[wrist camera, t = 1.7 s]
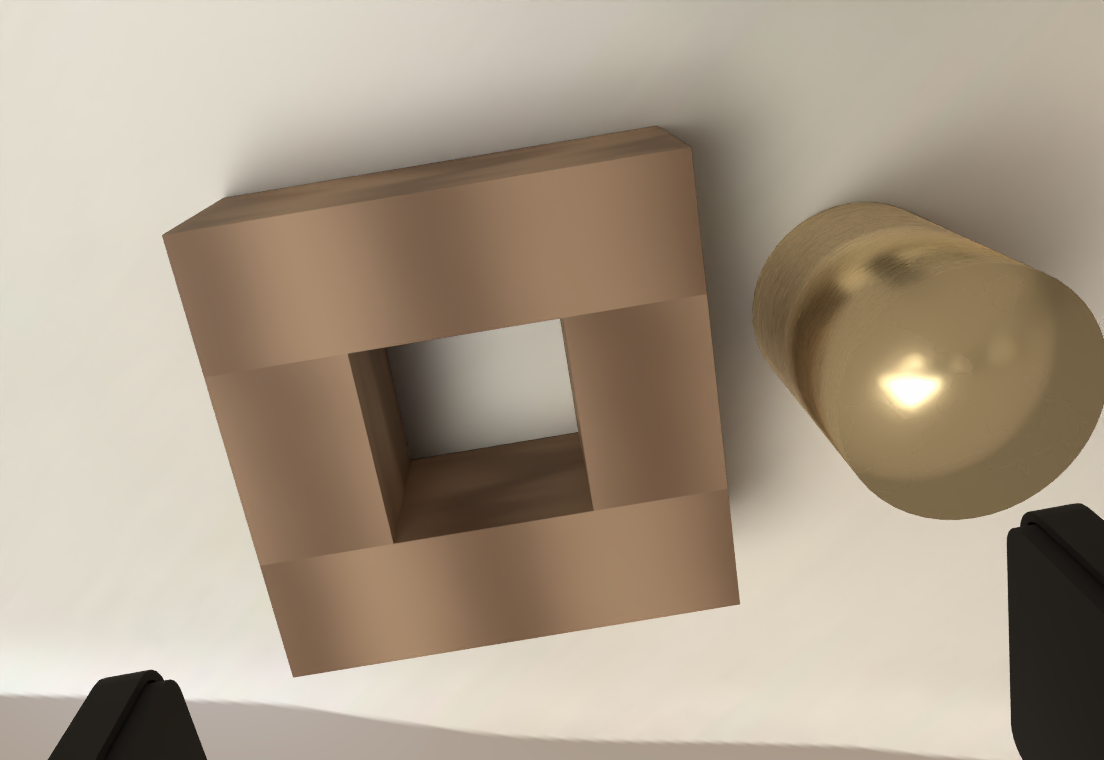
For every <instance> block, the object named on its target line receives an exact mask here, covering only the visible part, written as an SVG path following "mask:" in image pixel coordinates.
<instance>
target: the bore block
mask: <svg viewBox="0 0 1104 760" xmlns="http://www.w3.org/2000/svg"><path fill="white" fill-rule="evenodd" d="M162 237H163V240H164V244H165V247H166V250H167V254H168V257H169V260H170V264H171V267H172V271H173V274H174V277H175V281H176V284H177V287H178V291H179V294H180V297H181V301H182V304H183V308H184V311H185V314H186V318H187V321H188V324H189V328H190V331H191V335H192V338H193V341H194V345H195V348H196V351H197V355H198V358H199V362H200V365H201V368H202V372H203V375H204V378H205V382H206V385H207V388H208V392H209V395H210V399H211V402H212V405H213V409H214V412H215V415H216V419H217V422H218V426H219V429H220V432H221V436H222V439H223V442H224V446H225V449H226V453H227V456H228V459H229V463H230V466H231V469H232V473H233V476H234V479H235V483H236V486H237V490H238V493H239V496H240V500H241V503H242V506H243V510H244V513H245V517H246V520H247V523H248V527H249V530H250V533H251V537H252V540H253V544H254V547H255V550H256V554H257V557H258V560H259V564H260V567H261V570H262V574H263V577H264V581H265V584H266V587H267V591H268V594H269V597H270V601H271V604H272V608H273V611H274V614H275V618H276V621H277V624H278V628H279V631H280V634H281V638H282V641H283V645H284V648H285V651H286V655H287V658H288V661H289V665H290V668H291V672H292V675H293V677H299V676H305V675H311V674H318V673H324V672H330V671H336V670H342V669H348V668H354V667H360V666H366V665H372V664H379V663H385V662H391V661H397V660H403V659H409V658H415V657H421V656H427V655H433V654H440V653H446V652H452V651H458V650H464V649H470V648H476V647H482V646H488V645H494V644H501V643H507V642H513V641H519V640H525V639H531V638H537V637H543V636H549V635H555V634H562V633H568V632H574V631H580V630H586V629H592V628H598V627H604V626H610V625H616V624H623V623H629V622H635V621H641V620H647V619H653V618H659V617H665V616H671V615H677V614H684V613H690V612H696V611H702V610H708V609H714V608H720V607H726V606H732V605H738V604H740V600H739V590H738V581H737V572H736V562H735V553H734V544H733V534H732V525H731V516H730V506H729V497H728V487H727V478H726V469H725V459H724V450H723V441H722V431H721V422H720V413H719V403H718V394H717V384H716V375H715V366H714V356H713V347H712V338H711V328H710V319H709V310H708V300H707V291H706V281H705V272H704V263H703V253H702V244H701V235H700V225H699V216H698V207H697V197H696V188H695V179H694V169H693V160H692V150H691V147H690V146H689V145H687V144H685V143H684V142H682V141H681V140H679V139H677V138H676V137H674V136H672V135H671V134H669V133H667V132H666V131H664V130H663V129H661V128H659V127H658V126H653V127H647V128H641V129H635V130H629V131H623V132H617V133H611V134H605V135H599V136H593V137H587V138H581V139H575V140H569V141H563V142H557V143H551V144H545V145H539V146H533V147H527V148H521V149H515V150H509V151H503V152H497V153H491V154H485V155H479V156H473V157H467V158H461V159H455V160H449V161H443V162H437V163H431V164H425V165H419V166H413V167H407V168H401V169H395V170H389V171H383V172H377V173H371V174H365V175H359V176H353V177H347V178H341V179H335V180H329V181H323V182H317V183H311V184H305V185H299V186H293V187H287V188H281V189H275V190H269V191H263V192H257V193H251V194H245V195H240V196H234V197H228V198H223V199H221V200H219V201H218V202H216V203H214V204H213V205H211V206H209V207H208V208H206V209H204V210H203V211H201V212H200V213H198V214H196V215H195V216H193V217H191V218H190V219H188V220H186V221H185V222H183V223H181V224H180V225H178V226H176V227H175V228H173V229H171V230H170V231H168V232H167V233H165V234H163V235H162ZM559 318H560V321H561V327H562V333H563V339H564V345H565V352H566V358H567V364H568V370H569V376H570V383H571V389H572V395H573V401H574V408H575V414H576V420H577V426H578V432H579V433H573V434H567V435H561V436H555V437H549V438H543V439H537V440H530V441H524V442H518V443H512V444H506V445H500V446H494V447H488V448H482V449H476V450H470V451H464V452H458V453H452V454H446V455H440V456H434V457H428V458H421V459H415V460H411V459H410V454H409V450H408V446H407V441H406V437H405V432H404V428H403V424H402V419H401V415H400V410H399V406H398V402H397V397H396V393H395V388H394V384H393V380H392V375H391V371H390V366H389V362H388V358H387V353H386V349H385V347H391V346H397V345H403V344H409V343H415V342H421V341H427V340H433V339H439V338H445V337H451V336H457V335H463V334H469V333H475V332H481V331H487V330H493V329H499V328H505V327H511V326H517V325H523V324H529V323H535V322H541V321H547V320H553V319H559Z"/></svg>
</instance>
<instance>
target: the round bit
mask: <svg viewBox="0 0 1104 760" xmlns="http://www.w3.org/2000/svg"><path fill="white" fill-rule="evenodd" d="M753 325H754V331H755V336H756V339H757V342H758V345H759V348H760V350H761V352H762V354H763V356H764V358H765V359H766V361H767V362H768V364H769V365H770V367H771V368H772V369H773V370H774V372H775V373H776V374H777V375H778V377H779V378H780V379H781V381H782V382H783V383H784V384H785V386H786V387H787V388H788V389H789V391H790V392H791V393H792V394H793V396H794V397H795V398H796V399H797V401H798V402H799V403H800V404H801V406H802V407H803V408H804V409H805V411H806V412H807V413H808V414H809V416H810V417H811V418H812V419H813V421H814V422H815V423H816V424H817V426H818V427H819V428H820V429H821V431H822V432H823V433H824V435H825V436H826V437H827V438H828V440H829V441H830V442H831V443H832V445H833V446H834V447H835V448H836V450H837V451H838V452H839V453H840V455H841V456H842V457H843V458H844V460H845V461H846V462H847V463H848V465H849V466H850V467H851V468H852V470H853V471H854V472H855V473H856V475H857V476H858V477H859V478H860V480H861V481H862V482H863V483H864V484H865V485H866V486H867V487H868V488H869V489H870V490H871V491H872V492H873V493H874V494H876V495H877V496H878V497H879V498H881V499H882V500H884V501H885V502H887V503H889V504H890V505H892V506H894V507H896V508H898V509H900V510H903V511H905V512H907V513H910V514H914V515H918V516H921V517H926V518H933V519H940V520H960V519H969V518H976V517H981V516H985V515H990V514H993V513H996V512H999V511H1002V510H1005V509H1008V508H1010V507H1012V506H1014V505H1016V504H1019V503H1021V502H1023V501H1025V500H1026V499H1028V498H1030V497H1031V496H1033V495H1035V494H1036V493H1038V492H1040V491H1041V490H1042V489H1043V488H1045V487H1046V486H1047V485H1049V484H1050V483H1051V482H1053V481H1054V480H1055V479H1056V478H1057V477H1058V476H1059V475H1060V474H1061V473H1062V472H1064V471H1065V470H1066V469H1067V468H1068V466H1069V465H1070V464H1071V463H1072V462H1073V461H1074V459H1075V458H1076V457H1077V456H1078V455H1079V453H1080V452H1081V450H1082V449H1083V447H1084V446H1085V444H1086V443H1087V441H1088V440H1089V438H1090V436H1091V434H1092V432H1093V430H1094V428H1095V426H1096V424H1097V422H1098V419H1099V417H1100V414H1101V411H1102V409H1103V405H1104V338H1103V335H1102V332H1101V330H1100V327H1099V325H1098V323H1097V321H1096V319H1095V317H1094V315H1093V314H1092V312H1091V311H1090V310H1089V308H1088V307H1087V306H1086V304H1085V303H1084V302H1083V300H1082V299H1081V298H1080V297H1079V296H1078V295H1077V294H1076V293H1074V292H1073V291H1072V290H1071V289H1070V288H1069V287H1067V286H1066V285H1064V284H1063V283H1061V282H1060V281H1059V280H1057V279H1055V278H1053V277H1051V276H1049V275H1047V274H1045V273H1043V272H1041V271H1038V270H1036V269H1034V268H1032V267H1030V266H1027V265H1025V264H1023V263H1021V262H1018V261H1016V260H1014V259H1012V258H1010V257H1007V256H1005V255H1003V254H1001V253H999V252H996V251H994V250H992V249H990V248H987V247H985V246H983V245H981V244H979V243H976V242H974V241H972V240H970V239H967V238H965V237H963V236H961V235H959V234H956V233H954V232H952V231H950V230H947V229H945V228H943V227H941V226H939V225H936V224H934V223H932V222H930V221H928V220H925V219H923V218H921V217H919V216H916V215H914V214H912V213H910V212H908V211H905V210H903V209H901V208H898V207H894V206H891V205H887V204H881V203H874V202H859V203H849V204H844V205H840V206H836V207H833V208H830V209H827V210H825V211H822V212H820V213H818V214H816V215H814V216H812V217H810V218H808V219H807V220H805V221H804V222H803V223H801V224H800V225H798V226H797V227H796V228H794V229H793V230H792V231H791V232H790V233H789V234H788V235H786V237H785V238H784V239H783V240H782V241H781V242H780V243H779V244H778V245H777V247H776V248H775V249H774V251H773V252H772V254H771V255H770V257H769V258H768V260H767V262H766V264H765V266H764V267H763V269H762V272H761V274H760V277H759V279H758V282H757V286H756V290H755V294H754V301H753Z"/></svg>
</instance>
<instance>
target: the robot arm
mask: <svg viewBox="0 0 1104 760" xmlns="http://www.w3.org/2000/svg"><path fill="white" fill-rule="evenodd" d="M1007 570H1008V613H1009V656H1010V699H1011V727H1012V733H1013V738H1014V741H1015V744H1016V747H1017V749H1018V751H1019V754H1020V756H1021V757H1022V759H1023V760H1104V520H1103V519H1101V518H1100V517H1099V516H1098V515H1097V514H1095V513H1094V512H1093V511H1092V510H1091V509H1089V508H1088V507H1086V506H1085V505H1083V504H1080V503H1075V504H1069V505H1064V506H1058V507H1053V508H1047V509H1042V510H1036V511H1030V512H1027V513H1026V514H1024V515H1023V517H1022V520H1021V524H1020V527H1017V528H1012V529H1011V530H1010V531H1009V533H1008V536H1007ZM48 760H207V758H206V756H205V753H204V750H203V748H202V745H201V742H200V740H199V737H198V735H197V732H196V729H195V726H194V724H193V721H192V718H191V716H190V713H189V710H188V708H187V705H186V702H185V700H184V697H183V694H182V692H181V689H180V687H179V685H178V684H177V683H176V682H175V681H174V680H165V681H164V680H163V678H162V676H161V675H160V674H159V673H158V672H157V671H154V670H147V671H141V672H135V673H130V674H124V675H119V676H113V677H108V678H104V679H101V680H99V681H98V682H97V683H96V684H95V686H94V687H93V688H92V690H91V692H90V693H89V695H88V696H87V698H86V700H85V701H84V703H83V704H82V706H81V708H80V709H79V711H78V712H77V714H76V716H75V717H74V719H73V720H72V722H71V724H70V725H69V727H68V728H67V730H66V732H65V733H64V735H63V736H62V738H61V740H60V741H59V743H58V745H57V746H56V747H55V749H54V751H53V752H52V754H51V755H50V757H49V759H48Z"/></svg>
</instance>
